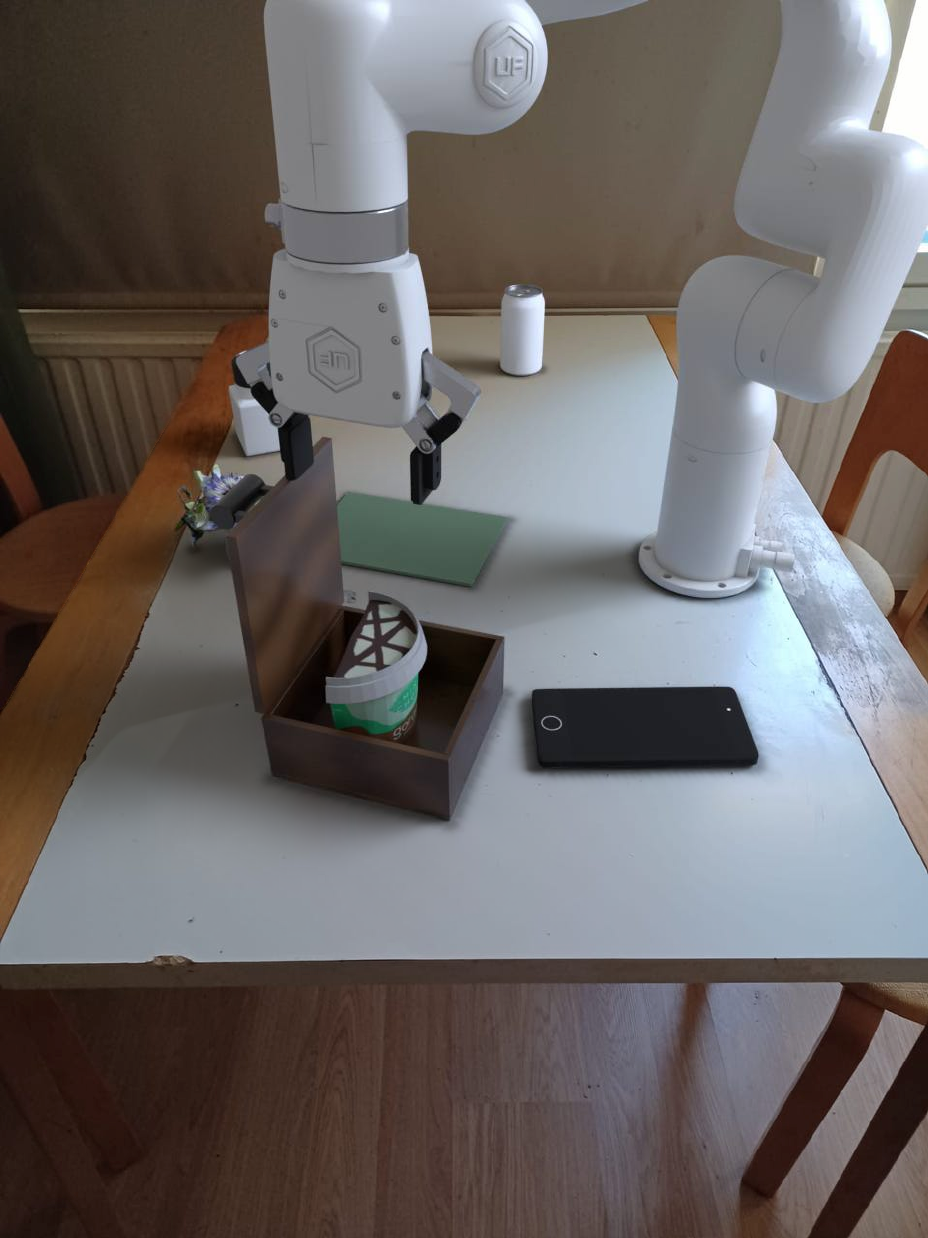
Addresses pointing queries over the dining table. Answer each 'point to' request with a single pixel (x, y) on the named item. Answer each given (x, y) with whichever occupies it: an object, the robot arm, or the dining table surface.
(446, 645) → the chest
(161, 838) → the dining table surface
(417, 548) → the mat
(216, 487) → the passion flower
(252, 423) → the medicine bottle
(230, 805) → the dining table surface
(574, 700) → the cell phone
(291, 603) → the lid
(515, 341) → the can
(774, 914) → the dining table surface
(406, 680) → the food container
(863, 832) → the dining table surface
